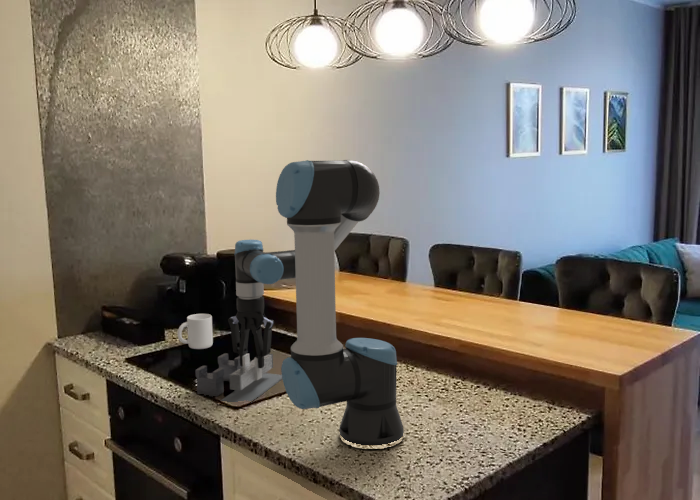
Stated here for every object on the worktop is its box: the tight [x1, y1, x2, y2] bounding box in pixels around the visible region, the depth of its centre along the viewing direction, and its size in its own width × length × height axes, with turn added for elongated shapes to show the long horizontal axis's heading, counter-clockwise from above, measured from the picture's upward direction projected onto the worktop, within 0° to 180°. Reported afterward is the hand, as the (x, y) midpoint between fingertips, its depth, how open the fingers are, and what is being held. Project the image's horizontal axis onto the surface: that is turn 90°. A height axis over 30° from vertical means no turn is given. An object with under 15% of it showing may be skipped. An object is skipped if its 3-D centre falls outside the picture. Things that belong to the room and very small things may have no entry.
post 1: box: [194, 365, 225, 398], centre depth 190 cm, size 4×7×7 cm, turn 71°
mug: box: [177, 313, 214, 350], centre depth 234 cm, size 12×8×10 cm
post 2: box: [217, 352, 243, 383], centre depth 202 cm, size 4×7×7 cm, turn 70°
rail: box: [229, 353, 274, 391], centre depth 192 cm, size 20×3×4 cm, turn 160°
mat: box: [220, 372, 283, 402], centre depth 193 cm, size 26×8×1 cm, turn 160°
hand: (252, 377), depth 193 cm, fingers closed on rail, 3 cm apart
